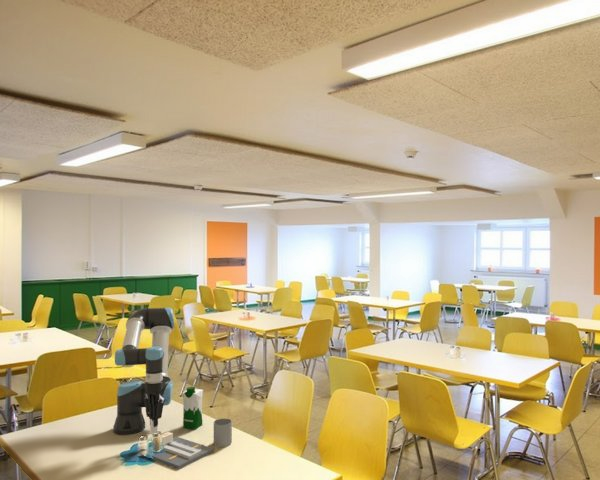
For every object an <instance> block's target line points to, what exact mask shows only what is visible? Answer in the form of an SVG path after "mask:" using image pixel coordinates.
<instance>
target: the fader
mask: <svg viewBox="0 0 600 480" xmlns="http://www.w3.org/2000/svg"><path fill="white" fill-rule="evenodd" d="M160 435H161V438H162V444H163V445H168V443H170V442H172V441H173V438H174V433H173V432H172V431H171V432H170V431H167V432H165V433H162V434H160Z"/></svg>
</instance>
